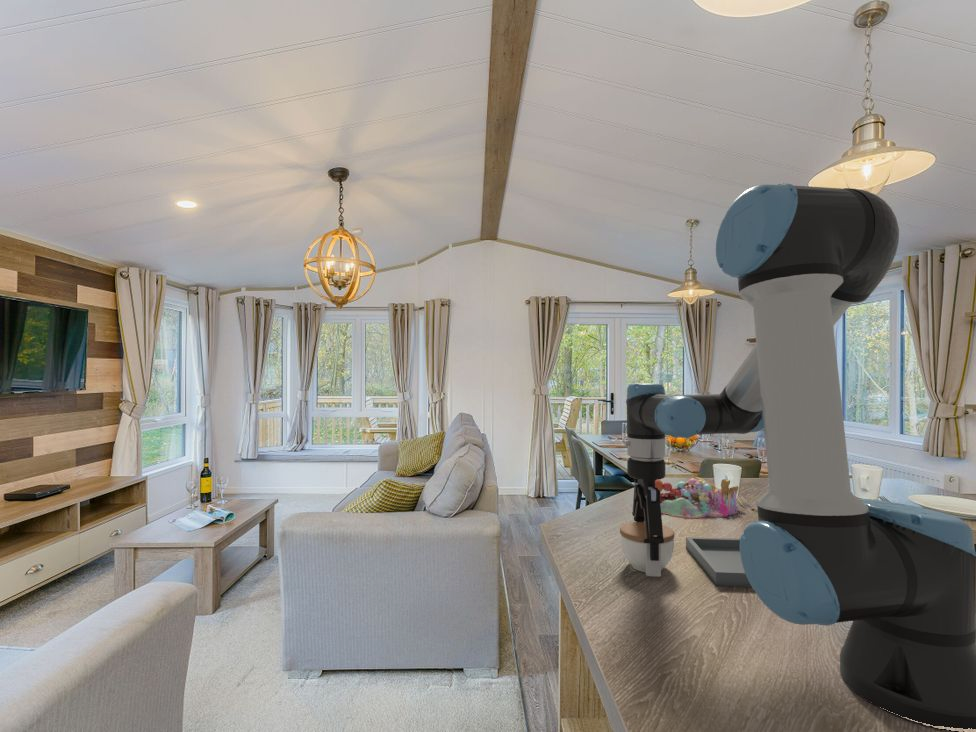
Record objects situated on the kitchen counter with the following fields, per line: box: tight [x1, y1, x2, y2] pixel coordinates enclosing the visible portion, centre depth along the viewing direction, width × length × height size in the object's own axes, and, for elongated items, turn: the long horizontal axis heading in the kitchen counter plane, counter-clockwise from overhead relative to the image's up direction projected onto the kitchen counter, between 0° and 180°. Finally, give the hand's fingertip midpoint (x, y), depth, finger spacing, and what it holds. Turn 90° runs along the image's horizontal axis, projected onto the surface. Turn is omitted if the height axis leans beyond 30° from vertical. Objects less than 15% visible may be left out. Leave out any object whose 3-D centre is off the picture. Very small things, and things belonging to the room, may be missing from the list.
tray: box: [685, 536, 752, 588], centre depth 104 cm, size 20×20×2 cm
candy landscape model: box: [655, 476, 739, 519], centre depth 149 cm, size 25×24×9 cm
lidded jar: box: [619, 521, 675, 573], centre depth 104 cm, size 11×11×9 cm
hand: (647, 563), depth 104 cm, fingers open, 11 cm apart
